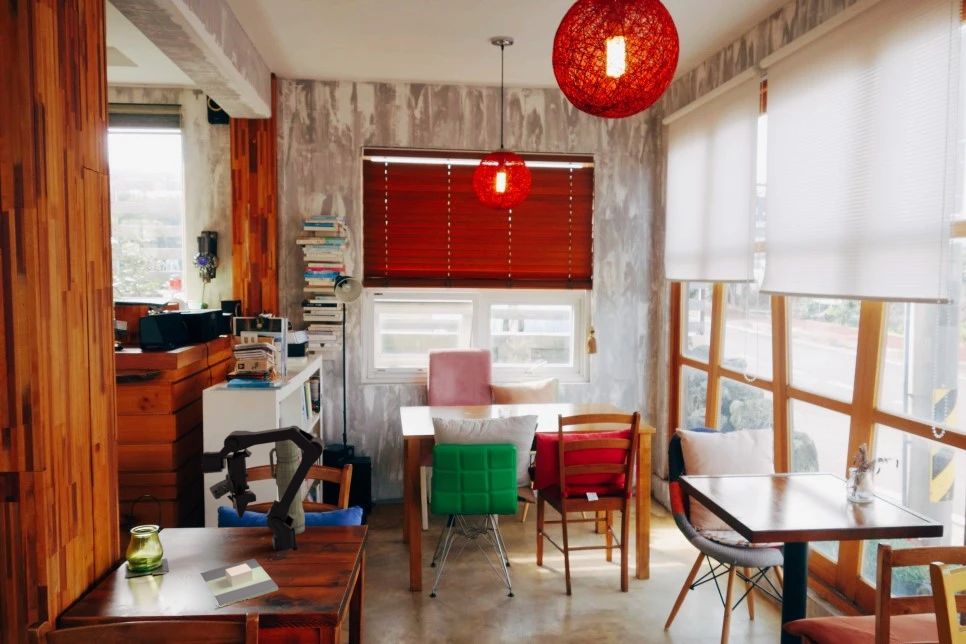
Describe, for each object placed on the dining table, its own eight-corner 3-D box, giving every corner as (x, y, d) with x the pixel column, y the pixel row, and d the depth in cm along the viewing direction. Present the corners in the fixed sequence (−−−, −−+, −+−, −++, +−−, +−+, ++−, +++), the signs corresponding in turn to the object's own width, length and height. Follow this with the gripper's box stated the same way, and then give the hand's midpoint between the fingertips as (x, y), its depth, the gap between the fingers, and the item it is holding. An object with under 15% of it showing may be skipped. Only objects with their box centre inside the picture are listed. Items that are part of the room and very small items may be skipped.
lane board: (254, 561, 215) (254, 558, 215) (278, 590, 195) (278, 586, 195) (201, 576, 206) (200, 573, 206) (220, 607, 186) (220, 604, 186)
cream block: (246, 572, 205) (245, 563, 204) (253, 579, 200) (252, 570, 199) (226, 579, 201) (225, 569, 201) (232, 586, 196) (231, 576, 196)
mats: (254, 558, 215) (254, 558, 215) (278, 586, 195) (278, 586, 195) (200, 573, 206) (200, 573, 206) (220, 604, 186) (220, 604, 186)
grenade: (271, 531, 239) (264, 434, 236) (304, 522, 246) (298, 428, 243) (279, 539, 232) (272, 438, 229) (312, 530, 238) (306, 432, 235)
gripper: (204, 469, 222) (207, 515, 224) (218, 483, 207) (221, 532, 208) (239, 462, 228) (242, 507, 230) (254, 475, 213) (258, 523, 214)
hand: (240, 517), depth 220 cm, fingers closed
